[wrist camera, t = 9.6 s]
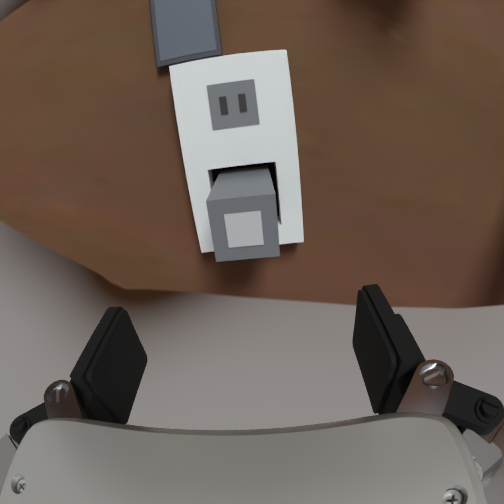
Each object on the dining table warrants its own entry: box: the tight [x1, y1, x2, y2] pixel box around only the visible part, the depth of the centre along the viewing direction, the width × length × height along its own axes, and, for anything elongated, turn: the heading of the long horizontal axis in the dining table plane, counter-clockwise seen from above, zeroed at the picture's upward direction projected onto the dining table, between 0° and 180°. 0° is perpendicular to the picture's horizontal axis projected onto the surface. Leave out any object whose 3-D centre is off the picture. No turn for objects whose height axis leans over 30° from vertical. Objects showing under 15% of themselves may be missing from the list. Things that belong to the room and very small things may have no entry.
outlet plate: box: [169, 50, 304, 253], centre depth 26 cm, size 10×18×3 cm, turn 7°
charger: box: [206, 165, 280, 262], centre depth 25 cm, size 4×4×10 cm
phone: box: [150, 0, 223, 68], centre depth 20 cm, size 6×11×1 cm, turn 7°
